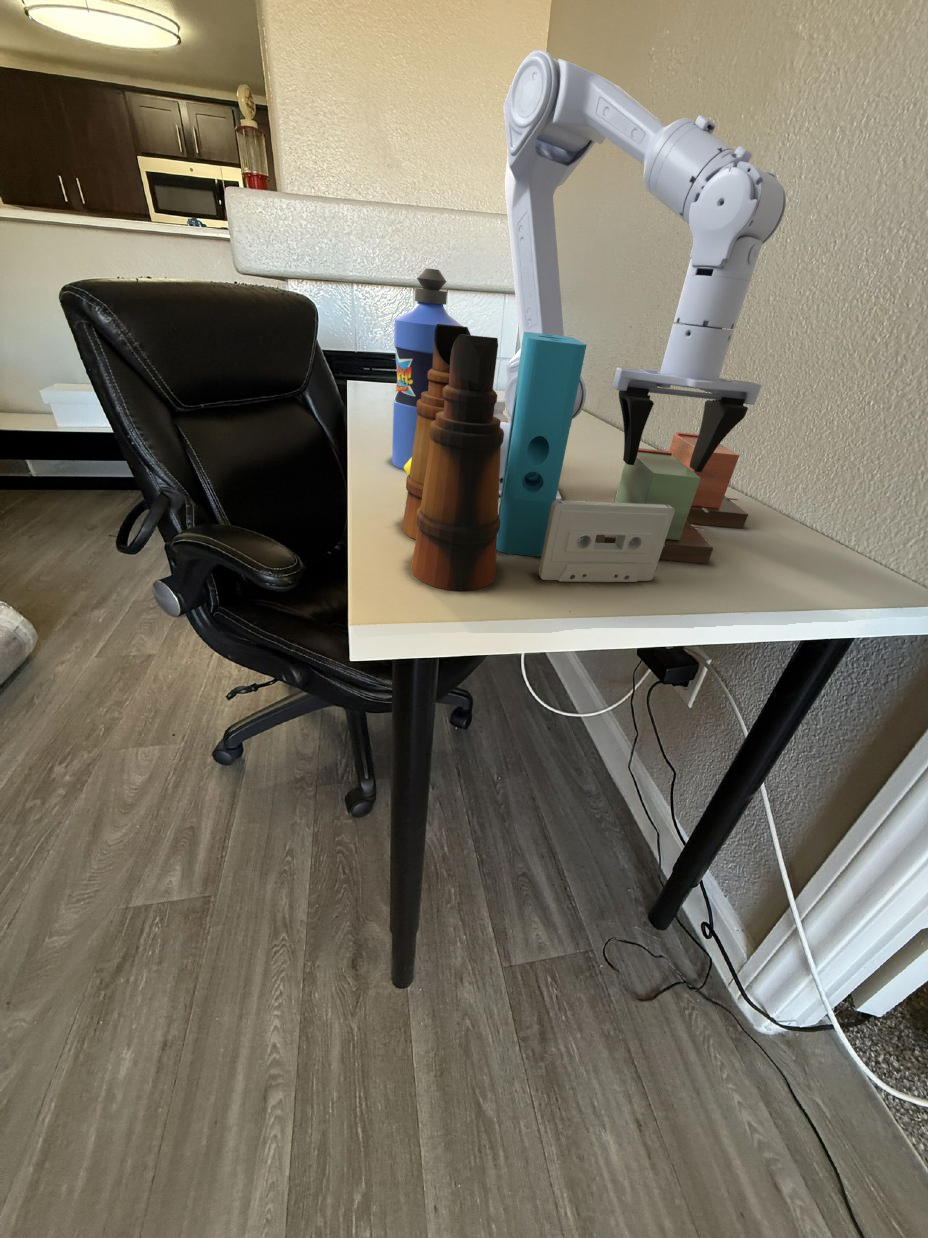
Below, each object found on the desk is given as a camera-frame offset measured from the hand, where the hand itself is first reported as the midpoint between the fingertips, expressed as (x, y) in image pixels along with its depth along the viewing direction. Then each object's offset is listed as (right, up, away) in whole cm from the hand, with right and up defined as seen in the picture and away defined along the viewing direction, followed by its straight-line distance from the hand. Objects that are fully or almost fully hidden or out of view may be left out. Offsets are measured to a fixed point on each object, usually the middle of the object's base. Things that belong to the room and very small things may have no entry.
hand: (661, 466), depth 58 cm
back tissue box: (+9, 0, +15) cm, 18 cm away
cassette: (-9, -13, -6) cm, 17 cm away
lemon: (-27, 0, +12) cm, 29 cm away
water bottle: (-29, +7, +22) cm, 37 cm away
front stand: (-1, -7, +4) cm, 9 cm away
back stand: (+9, -1, +16) cm, 18 cm away
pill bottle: (-19, +8, +26) cm, 33 cm away
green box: (-1, -6, +3) cm, 7 cm away
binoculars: (-24, -10, -4) cm, 26 cm away
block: (-16, -8, 0) cm, 18 cm away
